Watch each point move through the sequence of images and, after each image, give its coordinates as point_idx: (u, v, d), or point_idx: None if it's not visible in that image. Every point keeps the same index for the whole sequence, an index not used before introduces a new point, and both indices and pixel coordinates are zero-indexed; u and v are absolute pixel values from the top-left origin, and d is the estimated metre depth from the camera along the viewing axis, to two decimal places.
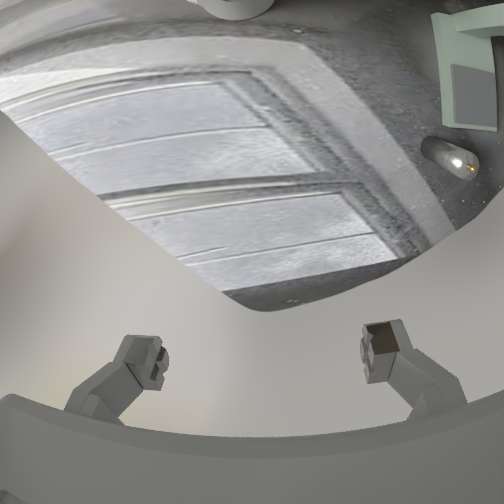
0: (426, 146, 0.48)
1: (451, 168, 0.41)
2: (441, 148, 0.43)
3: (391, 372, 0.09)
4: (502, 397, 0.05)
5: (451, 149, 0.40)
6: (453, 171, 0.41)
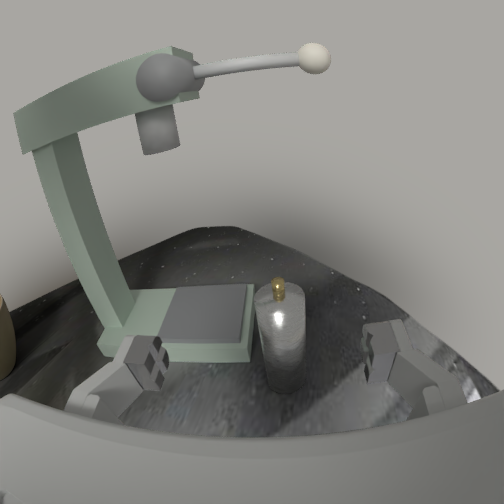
0: (279, 384, 0.34)
1: (291, 328, 0.28)
2: (269, 355, 0.31)
3: (391, 371, 0.09)
4: (502, 397, 0.05)
5: (262, 334, 0.30)
6: (295, 323, 0.28)
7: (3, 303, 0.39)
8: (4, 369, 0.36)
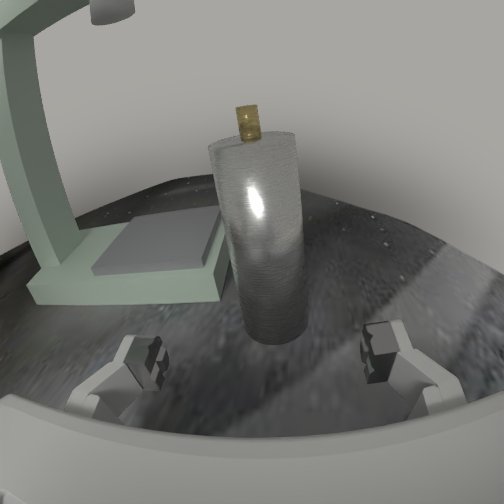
0: (261, 323, 0.21)
1: (273, 185, 0.16)
2: (240, 256, 0.18)
3: (391, 372, 0.09)
4: (502, 397, 0.05)
5: (223, 209, 0.17)
6: (280, 176, 0.16)
7: None
8: None
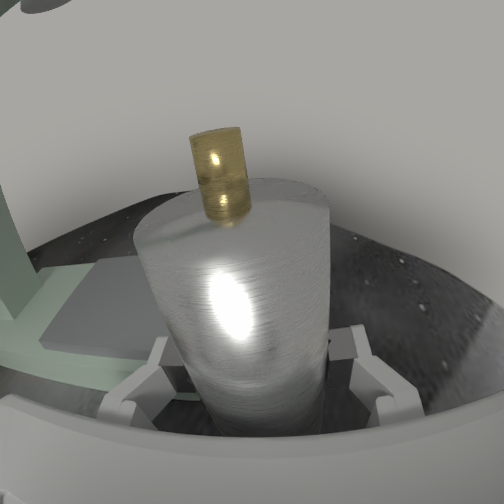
0: None
1: (276, 336, 0.07)
2: (215, 414, 0.09)
3: (351, 378, 0.10)
4: (502, 397, 0.05)
5: (178, 351, 0.08)
6: (293, 316, 0.07)
7: None
8: None
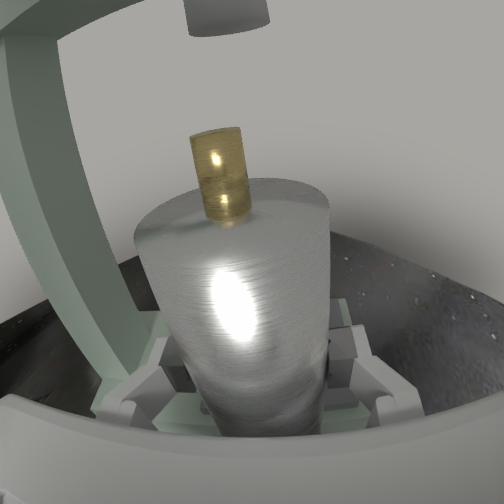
0: None
1: (276, 335, 0.07)
2: (215, 413, 0.09)
3: (351, 378, 0.10)
4: (502, 397, 0.05)
5: None
6: (293, 315, 0.07)
7: None
8: None
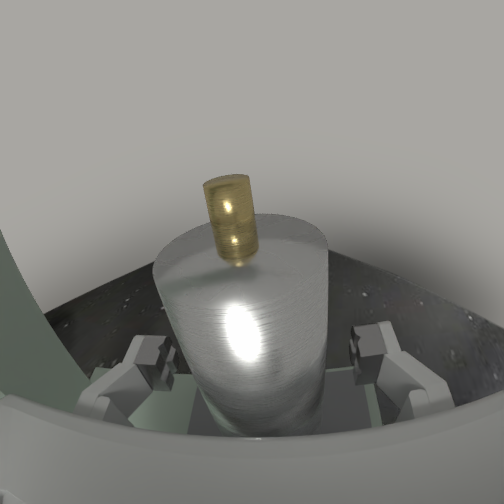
0: None
1: (279, 361, 0.08)
2: (223, 425, 0.10)
3: (379, 374, 0.09)
4: (502, 397, 0.05)
5: (191, 371, 0.09)
6: (295, 344, 0.08)
7: None
8: None
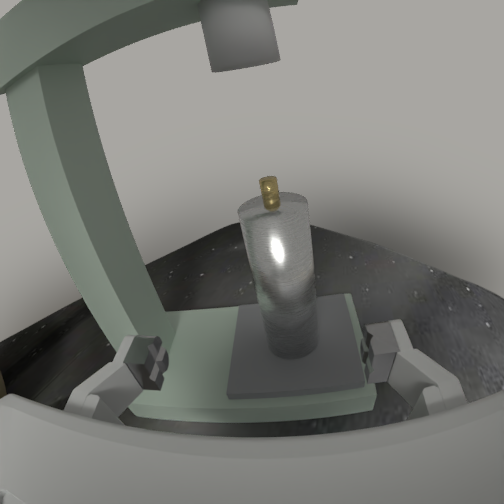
0: (282, 344, 0.25)
1: (291, 246, 0.20)
2: (265, 296, 0.23)
3: (390, 372, 0.09)
4: (502, 397, 0.05)
5: (252, 262, 0.22)
6: (296, 239, 0.20)
7: None
8: None
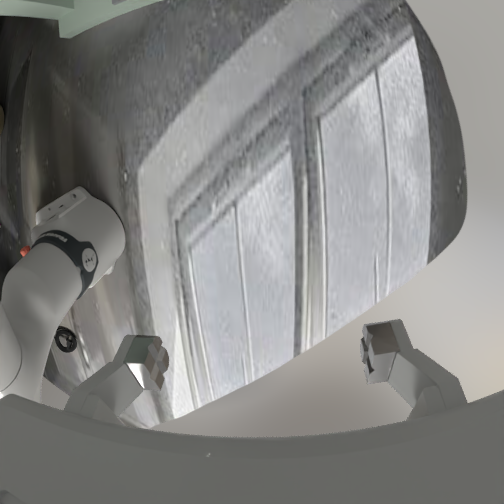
0: None
1: None
2: None
3: (390, 372, 0.09)
4: (502, 397, 0.05)
5: None
6: None
7: None
8: (1, 121, 0.38)
